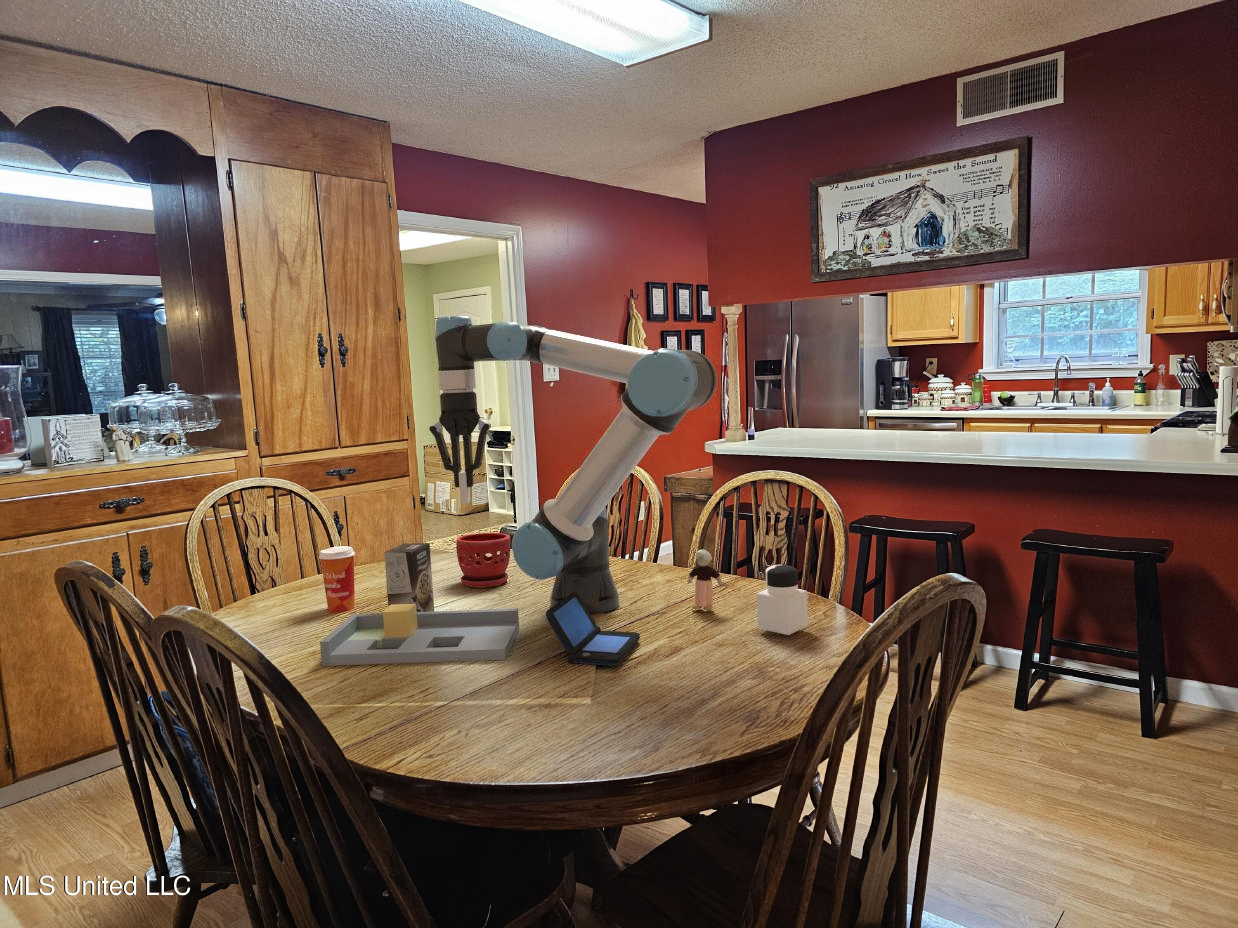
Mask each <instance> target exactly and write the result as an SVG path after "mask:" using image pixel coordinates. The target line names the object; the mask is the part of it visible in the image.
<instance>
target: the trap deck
mask: <svg viewBox="0 0 1238 928" xmlns="http://www.w3.org/2000/svg"><path fill="white" fill-rule="evenodd" d="M417 624H418V629H417V630H416V631H415V632H414V633H413V635H412V636H411V637H386V638H385V633H384V620H383V612H381V613H355V614H353V613H352V614H351V615H350V616H349V617H348V618H347V619H345V620H344V621H343V622H342V623H341V624H339V625H338V626H337V627H336V628H334V630H332V631H331V632H330V633H328V634H327V635H326V636H324V638H323V639H322V640H320V641H319V647H320V656H321V657H320V659H321V666H322V667H326V666H327V667H328V666H332V667H333V666H357V665H358V666H359V665H361V666H362V665H388V664H389V665H391V664H417V663H420V664H422V663H449V662H450V663H451V662H452V663H453V662H475V661H476V662H480V661H506V660H507V657H508V655H509V653H510V651H511V649H512V647H513V644H514V643H515V640H516V639H517V637H518V634H519V632H520V619H519V608H496V609H495V608H494V609H493V608H491V609H468V610H467V609H465V610H463V609H462V610H436V611H435V610H434V611H432V612H417Z"/></svg>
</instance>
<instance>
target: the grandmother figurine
mask: <svg viewBox="0 0 1238 928" xmlns="http://www.w3.org/2000/svg"><path fill="white" fill-rule="evenodd" d="M695 556H696V557H695V558H696V562H697V565H696V566H695V567H693V568H692V569H691V571H690V572H689V575H688V579H687V580H686V581H687V583H688V584H692V582H693V580H694V578H695V577H696V579H695V589H694V590H695V592H694V593H695V594H694V604H693V605H692V606H691V609H693V610H700V609H703V611H711V610H713V609H714V606H713V598H714V596H713V594H714V591H713V589H714V588H713V582H712V580H716V581H717V585H723V582H724V581H723V580H722V578H721V574H720V573H719V572H718V571H717V570H716V569H715V568H714V567H713V566H710V565H709V564H710V562H711V561H712V559H713V557H712V554H711V553H710V552H709V551H707V550H706V549H699V550H697V552H696V554H695ZM712 578H713V579H712Z"/></svg>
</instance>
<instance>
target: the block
mask: <svg viewBox="0 0 1238 928" xmlns="http://www.w3.org/2000/svg"><path fill="white" fill-rule="evenodd" d="M382 613H383V620H384V633H385V638H386V637H411V636H412V635H413V633H414V632H415V631H416V630H417V629H418V624H417V611H416V604H394V605H390V606H389V607H388V606H387V608H385V609H384V610H383V612H382Z"/></svg>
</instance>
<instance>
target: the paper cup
mask: <svg viewBox="0 0 1238 928" xmlns="http://www.w3.org/2000/svg"><path fill="white" fill-rule="evenodd" d="M355 555H356V552H355V551H354V549H353V547H352V546H347V545H346V546H333V547H328V548H325V549H321V550H320V551H319V556H318V559H319V560H320V566H321V571H322V578H323V585H324V592H325V598H326V604H327V609H328V612H329V613H344V612H348V611H352V610H354V609H356V607H355V605H356V603H355V602H356V601H355V600H356V598H355V595H356V594H355V593H356V592H355V561H354V558H355Z"/></svg>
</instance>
